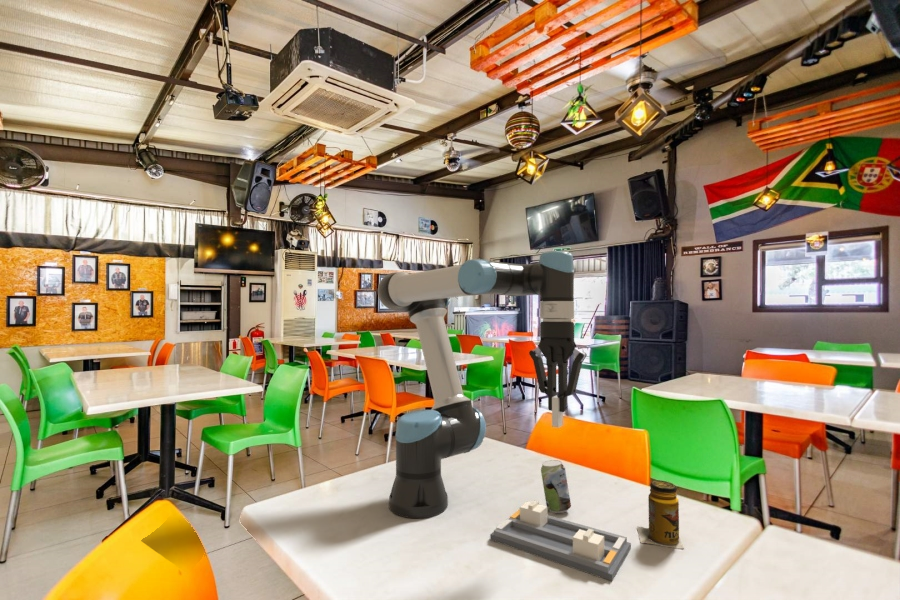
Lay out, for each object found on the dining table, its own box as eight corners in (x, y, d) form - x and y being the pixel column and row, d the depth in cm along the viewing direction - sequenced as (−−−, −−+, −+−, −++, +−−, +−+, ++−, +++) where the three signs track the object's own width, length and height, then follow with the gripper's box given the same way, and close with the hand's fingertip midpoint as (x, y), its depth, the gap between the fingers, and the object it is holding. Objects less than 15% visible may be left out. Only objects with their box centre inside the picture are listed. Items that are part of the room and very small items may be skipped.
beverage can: (571, 517, 109) (571, 467, 109) (541, 514, 110) (540, 465, 111) (570, 506, 115) (569, 459, 115) (541, 503, 116) (540, 457, 117)
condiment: (683, 549, 94) (683, 491, 94) (640, 543, 96) (639, 487, 97) (677, 533, 101) (676, 479, 101) (637, 527, 103) (636, 475, 104)
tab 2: (520, 522, 103) (519, 503, 103) (527, 516, 106) (527, 497, 106) (540, 529, 100) (540, 509, 100) (547, 522, 103) (547, 502, 103)
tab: (572, 555, 89) (572, 533, 89) (579, 546, 92) (579, 525, 92) (598, 563, 86) (598, 540, 86) (604, 554, 89) (604, 532, 89)
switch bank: (490, 539, 98) (490, 528, 98) (519, 516, 109) (519, 506, 109) (612, 581, 83) (612, 568, 83) (630, 548, 94) (630, 537, 94)
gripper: (523, 320, 102) (523, 424, 101) (579, 321, 94) (580, 434, 93) (537, 320, 108) (537, 418, 107) (591, 320, 100) (591, 426, 99)
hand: (557, 425), depth 100 cm, fingers closed
